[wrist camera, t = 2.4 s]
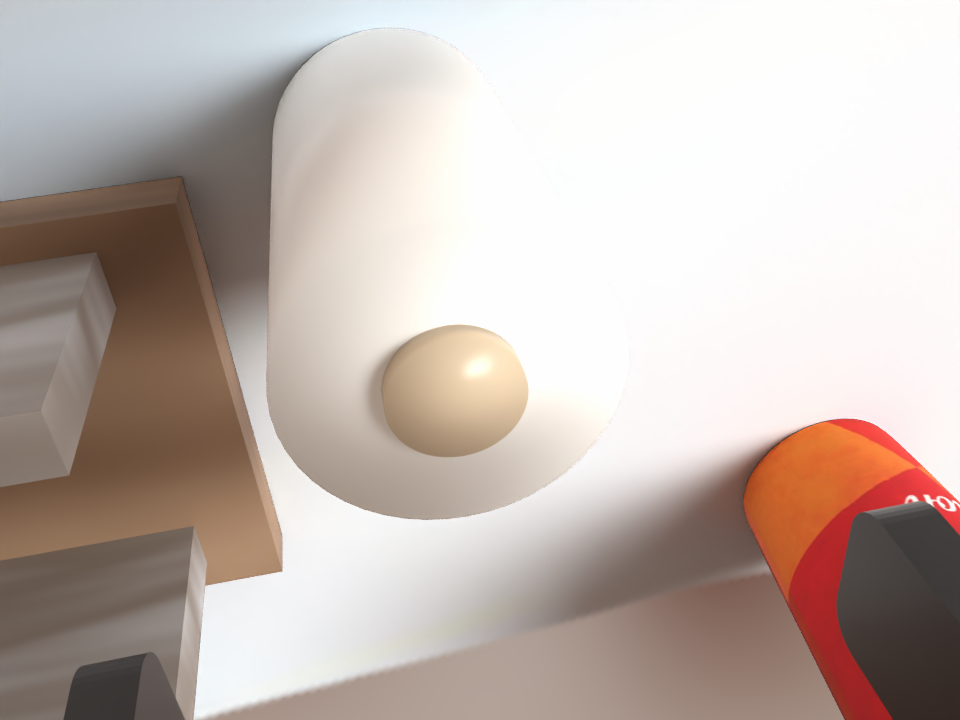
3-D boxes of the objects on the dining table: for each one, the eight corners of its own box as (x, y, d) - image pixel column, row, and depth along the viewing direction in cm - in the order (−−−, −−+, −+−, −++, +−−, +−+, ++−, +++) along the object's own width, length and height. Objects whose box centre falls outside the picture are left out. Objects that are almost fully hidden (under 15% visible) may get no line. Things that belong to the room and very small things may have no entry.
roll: (249, 44, 20) (225, 265, 12) (497, 13, 21) (641, 203, 12) (297, 265, 24) (304, 562, 15) (510, 233, 24) (633, 503, 16)
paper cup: (927, 517, 34) (1256, 915, 22) (729, 588, 34) (955, 1018, 23) (923, 355, 29) (1333, 753, 18) (694, 438, 29) (955, 882, 18)
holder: (-269, 240, 21) (-554, 502, 14) (181, 176, 22) (133, 390, 15) (-53, 596, 28) (-168, 894, 21) (282, 535, 29) (283, 799, 22)
